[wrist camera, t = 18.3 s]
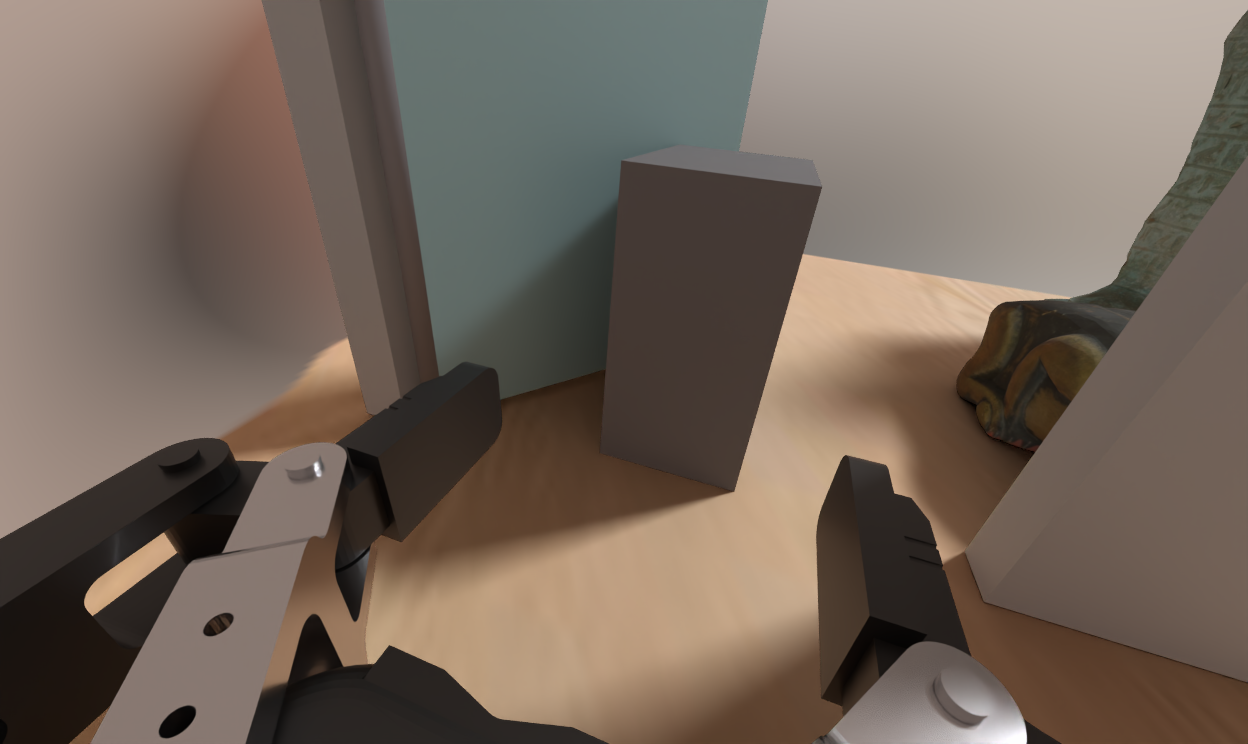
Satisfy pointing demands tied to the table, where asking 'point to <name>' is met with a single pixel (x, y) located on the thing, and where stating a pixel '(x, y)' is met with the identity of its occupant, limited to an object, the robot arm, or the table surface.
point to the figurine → (1189, 183)
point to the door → (535, 158)
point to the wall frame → (1049, 483)
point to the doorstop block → (699, 303)
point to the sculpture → (1036, 365)
